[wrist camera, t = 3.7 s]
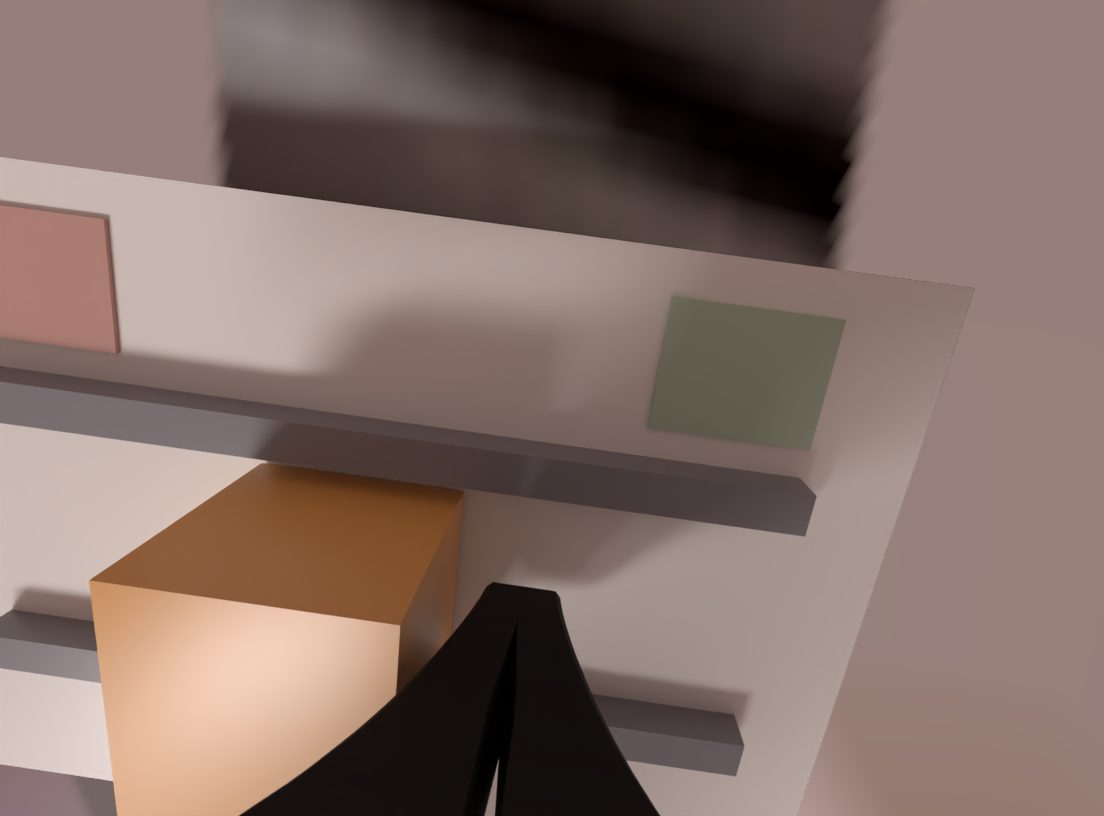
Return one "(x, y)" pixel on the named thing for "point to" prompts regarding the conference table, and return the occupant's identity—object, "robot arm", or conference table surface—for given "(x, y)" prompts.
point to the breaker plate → (469, 442)
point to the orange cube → (267, 632)
